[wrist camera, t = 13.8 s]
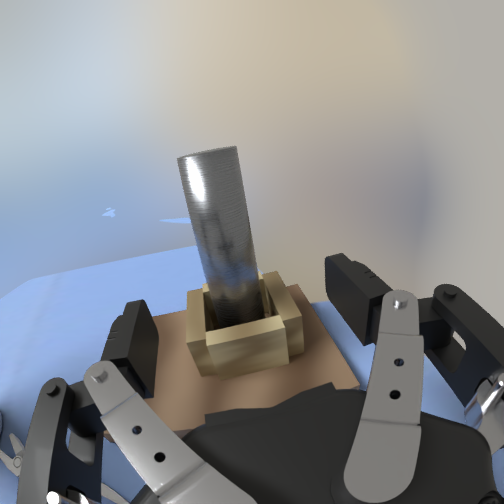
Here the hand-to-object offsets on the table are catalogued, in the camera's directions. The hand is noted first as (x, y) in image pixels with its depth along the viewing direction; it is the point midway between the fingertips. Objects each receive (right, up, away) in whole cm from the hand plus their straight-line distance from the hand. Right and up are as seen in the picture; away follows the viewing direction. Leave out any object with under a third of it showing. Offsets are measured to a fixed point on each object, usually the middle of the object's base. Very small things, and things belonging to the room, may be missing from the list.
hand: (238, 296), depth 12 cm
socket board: (-2, -8, +12) cm, 15 cm away
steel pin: (0, -6, +12) cm, 14 cm away
